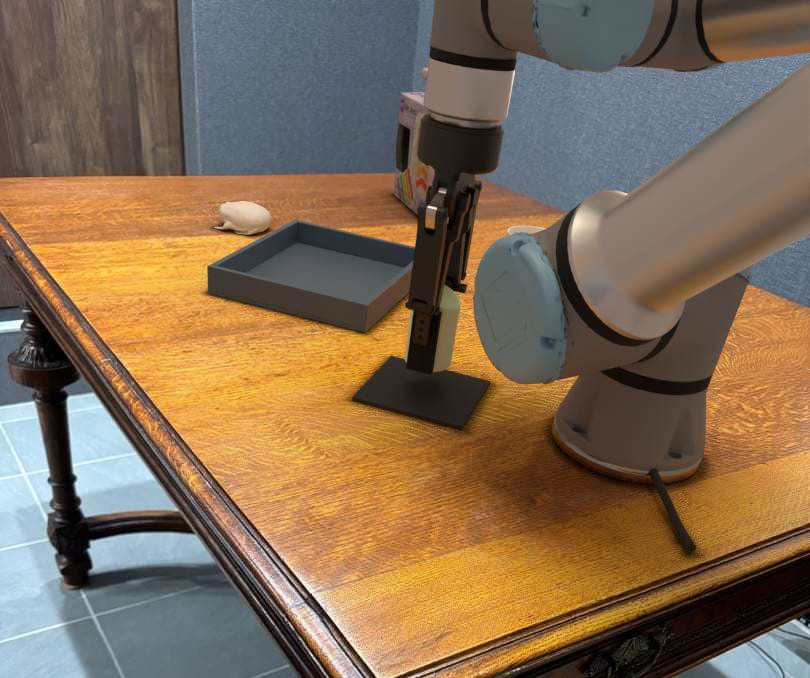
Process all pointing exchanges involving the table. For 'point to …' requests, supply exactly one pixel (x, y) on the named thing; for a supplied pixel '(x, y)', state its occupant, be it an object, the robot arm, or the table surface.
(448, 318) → the candle
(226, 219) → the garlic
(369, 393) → the mat
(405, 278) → the bin
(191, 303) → the table surface
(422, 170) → the cake pan box
